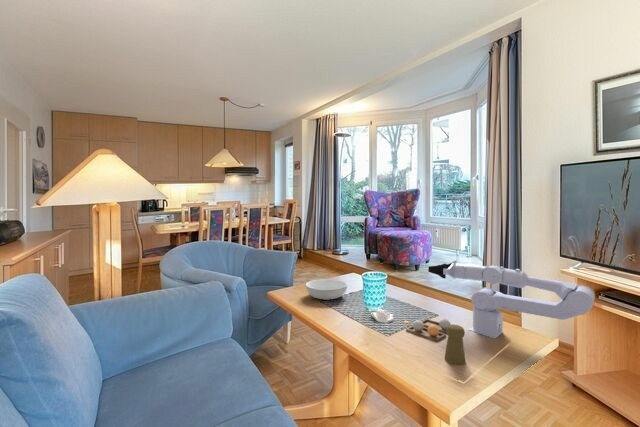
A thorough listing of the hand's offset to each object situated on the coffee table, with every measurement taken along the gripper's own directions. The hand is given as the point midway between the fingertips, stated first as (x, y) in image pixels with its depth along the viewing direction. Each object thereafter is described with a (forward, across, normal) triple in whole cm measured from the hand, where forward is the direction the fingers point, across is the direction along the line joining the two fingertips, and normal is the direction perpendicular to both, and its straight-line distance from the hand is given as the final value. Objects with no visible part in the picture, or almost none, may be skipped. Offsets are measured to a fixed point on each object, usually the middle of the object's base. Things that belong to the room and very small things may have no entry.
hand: (432, 268), depth 132 cm
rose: (+16, +13, +22) cm, 30 cm away
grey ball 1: (-1, +15, +22) cm, 27 cm away
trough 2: (-5, +7, +22) cm, 23 cm away
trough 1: (-4, +15, +23) cm, 27 cm away
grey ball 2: (-8, +7, +22) cm, 24 cm away
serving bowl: (+52, +7, +19) cm, 56 cm away
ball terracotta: (-7, +15, +22) cm, 28 cm away
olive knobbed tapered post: (-19, +27, +25) cm, 41 cm away
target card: (+5, +10, +22) cm, 24 cm away
